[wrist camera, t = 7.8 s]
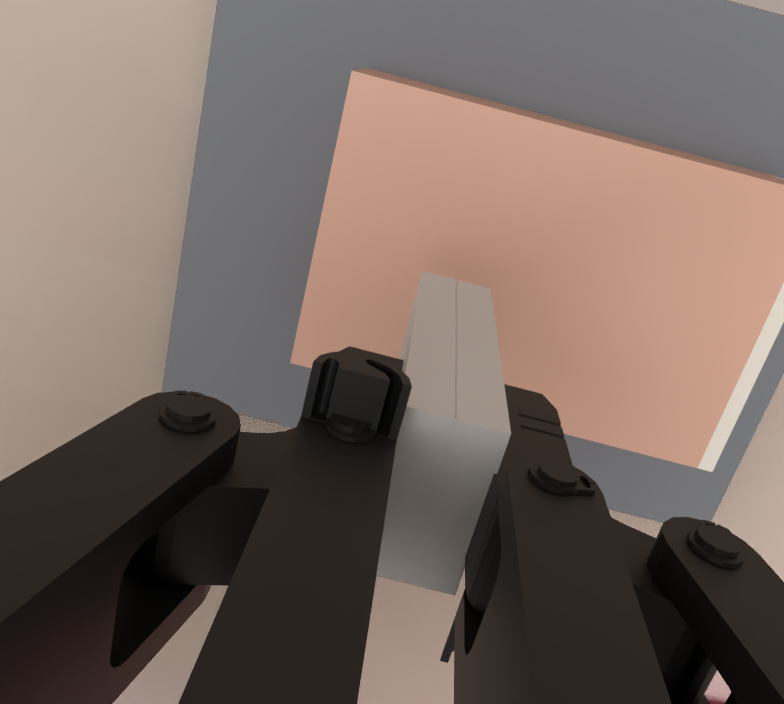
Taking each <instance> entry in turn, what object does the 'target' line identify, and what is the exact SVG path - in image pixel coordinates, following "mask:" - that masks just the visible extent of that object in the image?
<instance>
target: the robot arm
mask: <svg viewBox="0 0 784 704" xmlns="http://www.w3.org/2000/svg"><path fill="white" fill-rule="evenodd" d="M240 427H241V425H240V419H239V415H238V414H237V413H236V412H235V411H234V410H233V409H232V408H231V407H230V406H229V405H227V404H225V403H223V402H221V401H220V400H218V399H216V398H213V397H209V396H206V395H203V394H202V393H199V392H193V391H190V392H188V391H180V390H178V391H173V392H163V393H156V394H154V395H151V396H148V397H145V398H143V399H141V400H139V401H137V402H136V403H134V404H132V405H130V406H129V407H127V408H125V409H124V410H122V411H120V412H118V413H117V414H115V415H113V416H112V417H110V418H108V419H106V420H105V421H103V422H101V423H100V424H98V425H96V426H94V427H93V428H91V429H89V430H88V431H86V432H84V433H82V434H81V435H79V436H77V437H76V438H74V439H72V440H70V441H69V442H67V443H65V444H64V445H62V446H60V447H58V448H57V449H55V450H53V451H52V452H50V453H48V454H46V455H45V456H43V457H41V458H40V459H38V460H36V461H34V462H33V463H31V464H29V465H28V466H26V467H24V468H22V469H21V470H19V471H17V472H15V473H14V474H12V475H10V476H9V477H7V478H5V479H3V480H2V481H0V704H112V703H113V702H114V701H115V700H116V699H117V698H118V697H119V695H120V694H121V693H122V692H123V691H124V690H125V689H126V688H127V686H128V685H129V684H130V683H131V682H132V681H133V680H134V679H135V677H136V676H137V675H138V674H139V673H140V672H141V671H142V670H143V669H144V667H145V666H146V665H147V664H148V663H149V662H150V661H151V660H152V658H153V657H154V656H155V655H156V654H157V653H158V652H159V651H160V649H161V648H162V647H163V646H164V645H165V644H166V643H167V642H168V640H169V639H170V638H171V637H172V636H173V635H174V634H175V633H176V632H177V630H178V629H179V628H180V627H181V626H182V625H183V624H184V623H185V621H186V620H187V619H188V618H189V617H190V616H191V615H192V614H193V612H194V611H195V610H196V609H197V608H198V607H199V606H200V605H201V604H202V602H203V601H204V599H205V597H206V595H207V594H208V592H209V590H210V585H229V586H228V589H227V591H226V593H225V596H224V598H223V600H222V603H221V605H220V607H219V610H218V612H217V614H216V617H215V619H214V621H213V624H212V626H211V628H210V631H209V633H208V636H207V638H206V640H205V643H204V645H203V647H202V650H201V652H200V654H199V657H198V659H197V661H196V664H195V666H194V668H193V671H192V673H191V675H190V678H189V680H188V682H187V685H186V687H185V689H184V692H183V694H182V697H181V699H180V701H179V704H357V699H358V693H359V686H360V679H361V673H362V666H363V660H364V653H365V647H366V640H367V633H368V627H369V620H370V614H371V607H372V600H373V594H374V587H375V581H376V575H377V576H381V577H385V578H389V579H392V580H396V581H400V582H404V583H408V584H412V585H416V586H420V587H424V588H428V589H432V590H436V591H440V592H443V593H447V594H451V595H455V594H456V591H457V588H458V585H459V582H460V579H461V577H462V574H463V571H464V568H465V590H464V593H463V596H462V599H461V602H460V604H459V607H458V610H457V613H456V616H455V619H454V621H453V624H452V627H451V630H450V633H449V636H448V638H447V641H446V644H445V647H444V650H443V653H442V656H441V659H440V661H443V662H447V663H448V661H449V658H450V655H451V653H452V651H454V650H455V652H454V704H710V703H709V701H708V700H707V698H706V697H705V695H704V693H705V692H706V690H707V688H708V686H709V684H710V682H711V681H712V679H713V677H714V675H715V673H716V671H717V670H718V672H719V673H720V675H721V676H722V678H723V679H724V681H725V682H726V684H727V685H728V686H729V688H730V690H731V694H730V695H729V697H728V699H727V701H726V703H725V704H784V582H783V581H782V580H781V579H780V577H779V576H778V575H777V574H776V573H775V572H774V571H773V570H772V568H771V567H770V566H769V565H768V564H767V563H766V562H765V561H764V560H763V558H762V557H761V556H760V555H759V554H758V553H757V552H756V551H755V550H754V549H752V548H751V547H750V546H749V545H748V544H747V543H746V542H745V541H743V540H742V539H740V538H738V537H737V536H735V535H734V534H732V533H731V531H729V530H728V529H727V528H725V527H722V526H720V525H717V526H716V525H715V523H713V522H710V521H707V520H699V519H695V518H691V517H672V518H670V519H669V520H667V521H665V522H664V523H663V525H662V527H661V529H660V532H659V534H658V536H657V538H654V537H652V536H650V535H647V534H645V533H643V532H640V531H638V530H636V529H634V528H631V527H629V526H627V525H625V524H623V523H621V522H619V521H617V520H615V519H613V518H611V517H610V514H609V511H608V507H607V504H606V501H605V498H604V495H603V493H602V491H601V490H600V488H599V486H598V485H597V483H596V482H595V481H594V480H593V479H592V478H590V477H589V476H588V475H587V474H586V473H584V472H583V471H581V470H579V469H578V468H576V467H574V466H573V465H572V461H571V458H570V454H569V450H568V447H567V443H566V440H565V439H564V433H563V429H562V427H561V422H560V418H559V415H558V411H557V409H556V408H555V407H554V406H553V405H552V404H551V403H550V402H549V400H548V399H547V398H546V397H545V396H544V395H543V394H541V393H537V392H533V391H529V390H525V389H522V388H518V387H514V386H510V385H506V384H504V379H503V372H502V365H501V358H500V351H499V344H498V337H497V330H496V322H495V315H494V308H493V301H492V294H491V289H490V288H486V287H482V286H478V285H475V284H471V283H467V282H463V281H459V280H455V279H452V278H448V277H444V276H440V275H436V274H432V273H429V272H425V271H422V274H421V277H420V281H419V285H418V288H417V292H416V296H415V299H414V303H413V307H412V311H411V314H410V318H409V322H408V325H407V329H406V333H405V336H404V340H403V344H402V348H401V351H400V355H399V359H397V358H393V357H390V356H386V355H382V354H378V353H374V352H370V351H366V350H363V349H359V348H355V347H351V346H349V347H347V348H345V349H343V350H341V351H339V352H330V353H326V354H322V355H320V356H319V357H317V358H316V359H315V360H314V361H313V364H312V369H311V373H310V378H309V382H308V387H307V391H306V396H305V400H304V405H303V409H302V414H301V417H300V420H299V422H298V424H297V427H296V428H293V429H290V430H287V431H284V432H276V433H250V432H240Z"/></svg>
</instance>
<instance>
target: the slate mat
mask: <svg viewBox="0 0 784 704" xmlns="http://www.w3.org/2000/svg"><path fill="white" fill-rule="evenodd" d="M365 68H369V69H373V70H377V71H381V72H385V73H388V74H392V75H396V76H400V77H403V78H407V79H411V80H415V81H418V82H422V83H426V84H430V85H434V86H437V87H441V88H445V89H449V90H452V91H456V92H460V93H464V94H468V95H471V96H475V97H479V98H483V99H486V100H490V101H494V102H498V103H501V104H505V105H509V106H513V107H517V108H520V109H524V110H528V111H532V112H535V113H539V114H543V115H547V116H551V117H554V118H558V119H562V120H566V121H569V122H573V123H577V124H581V125H585V126H588V127H592V128H596V129H600V130H603V131H607V132H611V133H615V134H618V135H622V136H626V137H630V138H634V139H637V140H641V141H645V142H649V143H652V144H656V145H660V146H664V147H668V148H671V149H675V150H679V151H683V152H686V153H690V154H694V155H698V156H701V157H705V158H709V159H713V160H717V161H720V162H724V163H728V164H732V165H735V166H739V167H743V168H747V169H751V170H754V171H758V172H762V173H766V174H769V175H773V176H777V177H781V178H784V15H780V14H776V13H772V12H769V11H765V10H761V9H758V8H754V7H750V6H746V5H743V4H739V3H735V2H731V1H728V0H217V7H216V14H215V21H214V28H213V35H212V42H211V49H210V56H209V63H208V70H207V77H206V85H205V92H204V99H203V106H202V113H201V120H200V127H199V134H198V141H197V148H196V155H195V162H194V169H193V177H192V184H191V191H190V198H189V205H188V212H187V219H186V226H185V233H184V240H183V247H182V254H181V261H180V268H179V276H178V283H177V290H176V297H175V304H174V311H173V318H172V325H171V332H170V339H169V346H168V353H167V360H166V368H165V375H164V382H163V389H162V393H163V392H173V391H178V390H180V391H188V392H190V391H193V392H199V393H202V394H203V395H206V396H209V397H213V398H216V399H218V400H220V401H221V402H223V403H225V404H227V405H229V406H230V407H231V408H232V409H233V410H234V411H235V412H236V413H238V414H242V415H246V416H250V417H254V418H258V419H261V420H265V421H269V422H273V423H277V424H281V425H285V426H289V427H293V428H296V427H297V424H298V422H299V420H300V417H301V414H302V409H303V405H304V400H305V396H306V391H307V387H308V382H309V378H310V373H311V368H308V367H304V366H300V365H296V364H292V363H290V361H291V356H292V352H293V347H294V342H295V337H296V333H297V328H298V323H299V318H300V314H301V309H302V304H303V299H304V295H305V290H306V285H307V280H308V276H309V271H310V266H311V261H312V257H313V252H314V247H315V242H316V238H317V233H318V228H319V223H320V219H321V214H322V209H323V204H324V200H325V195H326V190H327V185H328V181H329V176H330V171H331V166H332V162H333V157H334V152H335V147H336V143H337V138H338V133H339V128H340V124H341V119H342V114H343V109H344V105H345V100H346V95H347V90H348V86H349V81H350V76H351V71H352V70H358V69H365ZM783 373H784V322H783V325H782V327H781V329H780V331H779V333H778V335H777V337H776V339H775V341H774V343H773V346H772V348H771V350H770V352H769V354H768V356H767V358H766V360H765V362H764V364H763V367H762V369H761V371H760V373H759V375H758V377H757V379H756V381H755V383H754V386H753V388H752V390H751V392H750V394H749V396H748V398H747V400H746V402H745V404H744V407H743V409H742V411H741V413H740V415H739V417H738V419H737V421H736V423H735V425H734V428H733V430H732V432H731V434H730V436H729V438H728V440H727V442H726V444H725V447H724V449H723V451H722V453H721V455H720V457H719V459H718V461H717V463H716V465H715V468H714V470H713V472H710V471H706V470H702V469H698V468H694V467H691V466H687V465H683V464H679V463H675V462H671V461H667V460H663V459H660V458H656V457H652V456H648V455H644V454H640V453H636V452H632V451H629V450H625V449H621V448H617V447H613V446H609V445H605V444H602V443H598V442H594V441H590V440H586V439H582V438H578V437H574V436H571V435H567V434H564V439H565V440H566V443H567V447H568V450H569V454H570V458H571V461H572V465H573V466H574V467H576V468H578V469H579V470H581V471H583V472H584V473H586V474H587V475H588V476H589V477H590V478H592V479H593V480H594V481H595V482H596V483H597V485H598V486H599V488H600V490H601V491H602V493H603V495H604V498H605V501H606V504H607V507H608V509H611V510H615V511H619V512H623V513H627V514H631V515H635V516H639V517H642V518H646V519H650V520H654V521H658V522H662V523H664V522H665V521H667V520H669V519H670V518H672V517H691V518H695V519H699V520H707V521H710V522H711V520H712V518H713V516H714V514H715V512H716V510H717V508H718V506H719V504H720V502H721V500H722V498H723V496H724V494H725V492H726V490H727V488H728V486H729V484H730V482H731V479H732V477H733V475H734V473H735V471H736V469H737V467H738V465H739V463H740V461H741V459H742V457H743V455H744V453H745V451H746V449H747V447H748V445H749V443H750V441H751V439H752V437H753V435H754V432H755V430H756V428H757V426H758V424H759V422H760V420H761V418H762V416H763V414H764V412H765V410H766V408H767V406H768V404H769V402H770V400H771V398H772V396H773V394H774V392H775V390H776V387H777V385H778V383H779V381H780V379H781V377H782V375H783Z"/></svg>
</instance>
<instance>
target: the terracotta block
mask: <svg viewBox="0 0 784 704" xmlns="http://www.w3.org/2000/svg"><path fill="white" fill-rule="evenodd" d="M422 271H425V272H429V273H432V274H436V275H440V276H444V277H448V278H452V279H455V280H459V281H463V282H467V283H471V284H475V285H478V286H482V287H486V288H490V289H491V294H492V301H493V308H494V315H495V322H496V330H497V337H498V344H499V351H500V358H501V365H502V372H503V379H504V384H506V385H510V386H514V387H518V388H522V389H525V390H529V391H533V392H537V393H541V394H543V395H544V396H545V397H546V398H547V399H548V400H549V402H550V403H551V404H552V405H553V406H554V407H555V408H556V409H557V411H558V415H559V418H560V422H561V427H562V429H563V433H564V434H567V435H571V436H574V437H578V438H582V439H586V440H590V441H594V442H598V443H602V444H605V445H609V446H613V447H617V448H621V449H625V450H629V451H632V452H636V453H640V454H644V455H648V456H652V457H656V458H660V459H663V460H667V461H671V462H675V463H679V464H683V465H687V466H691V467H694V468H698V469H702V470H706V471H710V472H713V470H714V468H715V465H716V463H717V461H718V459H719V457H720V455H721V453H722V451H723V449H724V447H725V444H726V442H727V440H728V438H729V436H730V434H731V432H732V430H733V428H734V425H735V423H736V421H737V419H738V417H739V415H740V413H741V411H742V409H743V407H744V404H745V402H746V400H747V398H748V396H749V394H750V392H751V390H752V388H753V386H754V383H755V381H756V379H757V377H758V375H759V373H760V371H761V369H762V367H763V364H764V362H765V360H766V358H767V356H768V354H769V352H770V350H771V348H772V346H773V343H774V341H775V339H776V337H777V335H778V333H779V331H780V329H781V327H782V325H783V322H784V178H781V177H777V176H773V175H769V174H766V173H762V172H758V171H754V170H751V169H747V168H743V167H739V166H735V165H732V164H728V163H724V162H720V161H717V160H713V159H709V158H705V157H701V156H698V155H694V154H690V153H686V152H683V151H679V150H675V149H671V148H668V147H664V146H660V145H656V144H652V143H649V142H645V141H641V140H637V139H634V138H630V137H626V136H622V135H618V134H615V133H611V132H607V131H603V130H600V129H596V128H592V127H588V126H585V125H581V124H577V123H573V122H569V121H566V120H562V119H558V118H554V117H551V116H547V115H543V114H539V113H535V112H532V111H528V110H524V109H520V108H517V107H513V106H509V105H505V104H501V103H498V102H494V101H490V100H486V99H483V98H479V97H475V96H471V95H468V94H464V93H460V92H456V91H452V90H449V89H445V88H441V87H437V86H434V85H430V84H426V83H422V82H418V81H415V80H411V79H407V78H403V77H400V76H396V75H392V74H388V73H385V72H381V71H377V70H373V69H369V68H365V69H358V70H352V71H351V76H350V81H349V86H348V90H347V95H346V100H345V105H344V109H343V114H342V119H341V124H340V128H339V133H338V138H337V143H336V147H335V152H334V157H333V162H332V166H331V171H330V176H329V181H328V185H327V190H326V195H325V200H324V204H323V209H322V214H321V219H320V223H319V228H318V233H317V238H316V242H315V247H314V252H313V257H312V261H311V266H310V271H309V276H308V280H307V285H306V290H305V295H304V299H303V304H302V309H301V314H300V318H299V323H298V328H297V333H296V337H295V342H294V347H293V352H292V356H291V361H290V363H292V364H296V365H300V366H304V367H308V368H311V369H312V364H313V361H314V360H315V359H316V358H317V357H319V356H320V355H322V354H326V353H330V352H339V351H341V350H343V349H345V348H347V347H349V346H351V347H355V348H359V349H363V350H366V351H370V352H374V353H378V354H382V355H386V356H390V357H393V358H397V359H399V355H400V351H401V348H402V344H403V340H404V336H405V333H406V329H407V325H408V322H409V318H410V314H411V311H412V307H413V303H414V299H415V296H416V292H417V288H418V285H419V281H420V277H421V274H422Z"/></svg>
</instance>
